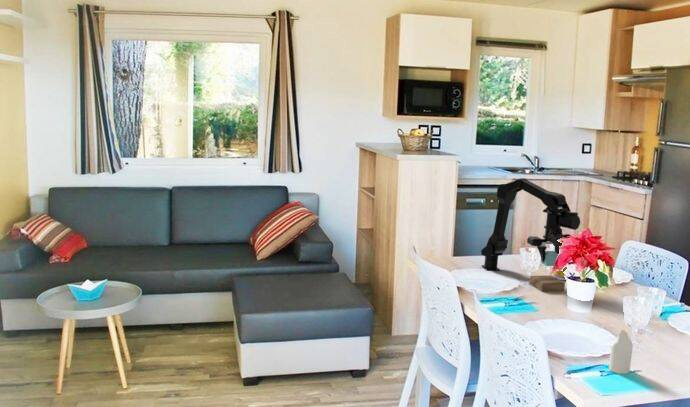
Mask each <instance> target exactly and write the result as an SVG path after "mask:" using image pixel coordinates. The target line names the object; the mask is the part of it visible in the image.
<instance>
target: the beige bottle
mask: <svg viewBox="0 0 690 407" xmlns="http://www.w3.org/2000/svg"><path fill="white" fill-rule="evenodd" d="M617 335H618V336H616V338H615V340H614V341H613V342H612V343H611V346H610V354H609V363H608V370H609V371H610V372H613V373H615V374H619V375H627V374H629V373H630V371H631V370H630V369H631V363H632V356H633V347H634V346H633V342H632V340H631V338H630V337H629V334H628V331H626V330H624V329H621V330H620V331H619V333H618V334H617Z"/></svg>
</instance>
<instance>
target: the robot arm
mask: <svg viewBox="0 0 690 407" xmlns="http://www.w3.org/2000/svg"><path fill="white" fill-rule="evenodd" d="M496 189H497V191H496V198H497V201H498V205H497V206H498V207H497V211H496V216H495V221H494V227H493V232H492V234H491V235H490V237H489V238H488V239H487V243H486V245H485V247H483V248H482V249H481V250H480V253H481V256H484V262H483V263H484V264H482V265H481V267H482V269H484V270H485V269H488V270H487V271H500V270H501V269H500V268H499V267H498V264H499V263H498V261H499V257H501V256H502V255H503V253H504V252H505V251H506V250H507V249H508V242H509V239H506V236H505V233H506V227H507V225H508V224H507V223H508V218H509V212H510V208H511V204H512V203H513V202H514V201H515V199H516V196H517V194H518V193H519V192H521V191H523V192H526V193H528V194H529V195H532V196H533V197H535V198H537V199H539V200H540V201H541V202H542V203H543V205H544V206H545V207H546V208H544V209H543V210H542V212H543V213H546V221H545V225H544V226H543V228H544V229H545V230H544V231H545V232H544V234H543V235H542V236H543V238H541V237H539V236H533V235H532V236H531V235H530V236H528V237H527V240H526V243H527V244H529V245H530V246H531V247H536V248H537V250H538V252H539V255H540V260H541V259H542V262H544V260H545V251H547V246H546V244H547V245H548V244H549V245H552V246H554V252H556V253H558V254H559V246H561V245H562V243H560V242H558V241H557V240H558V239H560V238H562V237H567V236H571V234H568V233H567V234H566V233H565V234H563V228H566V229H568V230H573V231H575V230H578V229H579V228H580V225H581V219H580V216H579V213H578V212H577V211H576V212H573V211H572V210H571V208H570V206H569V204H568V202H567V199H566V196H565V195H564V194H562V193H559V192H554V191H551V190H547V189H545V188H544V187H542V186H539V185H538V184H536V183H534V182H532V181H530V180H528V178H525V177H524V178H517V179H515V180H513V181H510V182H508V183H501V184H499V185H498V186H497V188H496ZM571 237H572V236H571Z"/></svg>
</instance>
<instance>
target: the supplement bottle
mask: <svg viewBox="0 0 690 407" xmlns="http://www.w3.org/2000/svg"><path fill="white" fill-rule="evenodd" d="M566 269H567V267H565V268H564V269H563V271H555V272H554V271H553V275H552V276H554V277H556V278H557V279H559V280H561V281H566V280H565V277H564V273H563V272H564V271H565V270H566Z"/></svg>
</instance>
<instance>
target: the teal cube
mask: <svg viewBox="0 0 690 407" xmlns="http://www.w3.org/2000/svg"><path fill="white" fill-rule="evenodd" d="M557 256H558V253H556V252H555V250H545V260H544V262H542V259H541V258H540V263H541V264H542V265H544V266H545V267H554V264H555V261H556V258H557Z"/></svg>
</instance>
